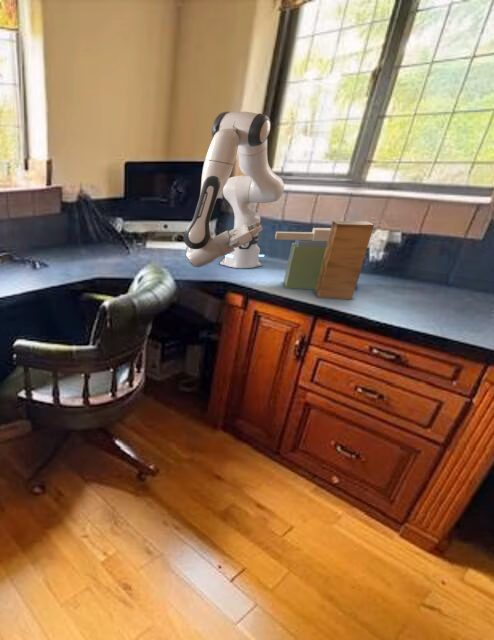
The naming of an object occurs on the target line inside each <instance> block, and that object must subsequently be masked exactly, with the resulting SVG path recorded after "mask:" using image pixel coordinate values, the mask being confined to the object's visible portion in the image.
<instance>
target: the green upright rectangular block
mask: <svg viewBox="0 0 494 640" xmlns="http://www.w3.org/2000/svg"><path fill="white" fill-rule="evenodd" d="M326 245H327V241H312V240H294V242H291V245H290V250H289V255H288V260H287V264H286V269H285V272H284V273H285V274H284V279H283V284H284V286H285V288H286V289H301V290H302V289H303V290H315V289H316V285H317V281H318V277H319V273H320V269H321V265H322V261H323V257H324V253H325V249H326Z"/></svg>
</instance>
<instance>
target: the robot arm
mask: <svg viewBox="0 0 494 640" xmlns="http://www.w3.org/2000/svg"><path fill="white" fill-rule="evenodd" d="M271 128H272V123H271V120H270V117H269V116H268V115H266V114H265V113H259V112H258V113H256V112H252V111H223V112H220V113H219V114H218V115H217V116H216V117H215V119H214V120H213V123H212V126H211V137H212V138H211V139H212V140H211V142H210V144H209V147H208V149H207V152H206V155H205V158H204V162H203V166H202V171H201V172H202V173H201V182H200V193H199V198H198V201H197V204H196V207H195V211H194V215H193V218H192V219H191V221H190V223H189V224H188V225H187V227H186V228H185V230H184V232H183V237H182V238H183V242H184V244H185V245H186V246H187V249H186V253H185V255H186V259H187V260H188V262H189V264H190V265H191V266H192V267H194V268H202V267H204V266H207V265H209V264H211V263H213V262H215V261H216V260H218V259H219V258H223V257H224V258H223V259H222V260H220V263H219V264H220V265H221V266H226V267H230V268H236V269H253V268H256V267H257V268H258V267H262V263H261V261H259V257H265V254H260V251H261V249H260V247H259V246H258V243H259V236H260V235H259V233H260V232H262V231H264V229H263V226H262V224H261V216H260V214H259V213H258V212H256V211H255V210H253V209H252V208H251V205H250V203H251V204H268V203H269V204H271V203H274V202H277V201H278V200H279V199H280V198H281V197H282V196H283V193H284V190H285V183H284V180H283V179H282V177H280V176H279V175H277V174H276V173H275V172H273V170H272V168H271V167H270V164H269V161H268V137H269V135H270V132H271ZM237 155H238V157H237ZM237 158H238V168H239V170H240V172H241V173H243V174H244V175H235V176H231V174H232V172H233V169H234V166H235V164H236V163H235V162H236V159H237ZM221 192H222V194H223V197H224V199H225V200H226V201H227V202H228V204H229V205H230V206H231V208H232V210H233V216H234V219H233V229H230V230H225V231H223V232H221V233H219V234H217V235H215V236H213V234H212V227H211V224H210V222H211V218H212V214H213V212H214V209H215V205H216V201H217V200H218V198H219V195H220V194H221Z"/></svg>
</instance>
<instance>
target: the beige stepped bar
mask: <svg viewBox="0 0 494 640" xmlns="http://www.w3.org/2000/svg"><path fill="white" fill-rule="evenodd" d="M330 230H331V227H313V228H312V231H275V235H274V239H275V240H279V241H280V240H282V241H283V240H284V241H295V240H312V241H328V237H329V233H330Z"/></svg>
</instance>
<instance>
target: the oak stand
mask: <svg viewBox="0 0 494 640" xmlns="http://www.w3.org/2000/svg"><path fill="white" fill-rule="evenodd" d="M374 227H375V224H373V223H372V222H369V221H368V220H332V222H331V226H330V228H331V230H330V233H329V237H328V241H327V245H326V249H325V253H324V257H323V261H322V265H321V269H320V273H319V277H318V281H317V285H316V289H314V293H315V294H316V295H317V297H318V298H319V299H320V298H321V299H336V300H337V299H340V300H353V297H354V294H355V290H356V288H357V285H358V282H357V280H358V281H359V279H358V277H359V278H360V276H359V274H360V275H361V272H360V270H361V271H362V269H361V267H362V268H363V266H362V264H363V265H364V263H363V260H364V257H365V258H366V254H367V250H368V246H369V243H370V240H371V237H372V233H373V230H374ZM364 261H365V260H364ZM356 284H357V285H356ZM355 287H356V288H355Z"/></svg>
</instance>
